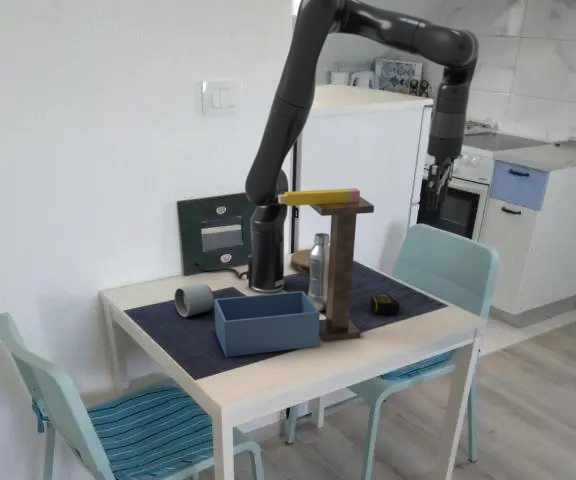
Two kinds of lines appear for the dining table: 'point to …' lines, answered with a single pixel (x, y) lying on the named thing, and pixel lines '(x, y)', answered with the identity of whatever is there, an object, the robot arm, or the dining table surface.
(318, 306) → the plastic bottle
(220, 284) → the dining table surface
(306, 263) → the brown flat round disc
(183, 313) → the ceramic mug
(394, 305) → the tape measure
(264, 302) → the blue open rectangular box
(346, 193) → the pencil
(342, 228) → the shelf stand
